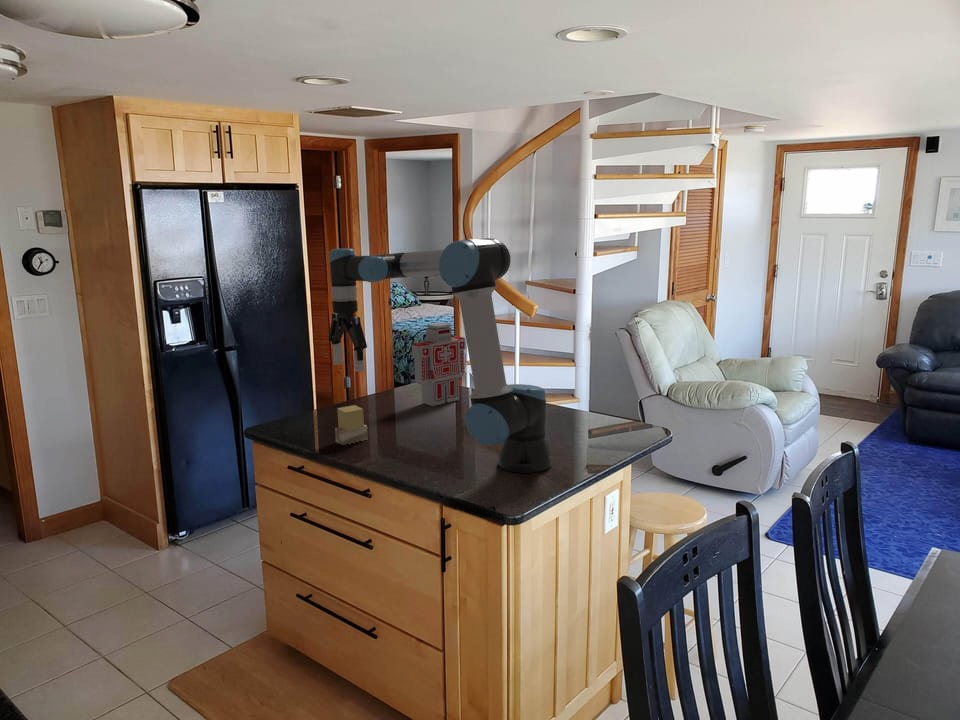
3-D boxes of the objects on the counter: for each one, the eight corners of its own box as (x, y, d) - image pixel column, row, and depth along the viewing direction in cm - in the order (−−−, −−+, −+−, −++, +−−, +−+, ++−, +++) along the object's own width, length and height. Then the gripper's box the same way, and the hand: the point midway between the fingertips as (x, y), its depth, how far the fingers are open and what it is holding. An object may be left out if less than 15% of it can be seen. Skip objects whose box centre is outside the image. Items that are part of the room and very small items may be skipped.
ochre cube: (364, 427, 228) (363, 409, 227) (346, 430, 225) (345, 412, 224) (355, 423, 233) (354, 405, 232) (338, 426, 230) (337, 408, 228)
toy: (423, 409, 265) (420, 329, 259) (411, 405, 271) (408, 326, 265) (469, 398, 280) (468, 322, 274) (457, 395, 285) (455, 320, 279)
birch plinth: (367, 440, 231) (367, 425, 230) (342, 446, 226) (341, 431, 225) (361, 437, 234) (360, 422, 233) (335, 443, 229) (335, 428, 228)
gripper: (376, 301, 213) (379, 371, 218) (336, 295, 233) (340, 359, 237) (353, 304, 209) (357, 375, 213) (315, 297, 228) (319, 363, 232)
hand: (348, 367), depth 225 cm, fingers open, 13 cm apart
